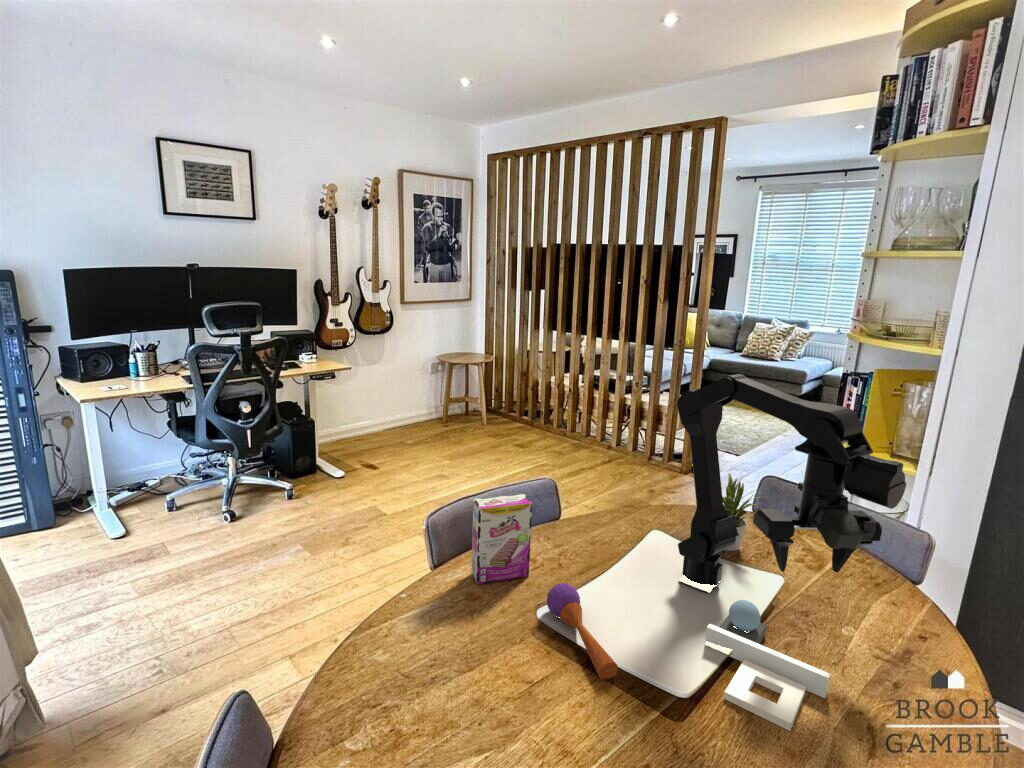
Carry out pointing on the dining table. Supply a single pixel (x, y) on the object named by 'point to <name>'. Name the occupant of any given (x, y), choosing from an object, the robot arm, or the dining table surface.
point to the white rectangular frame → (760, 706)
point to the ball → (744, 615)
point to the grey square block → (754, 635)
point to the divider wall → (771, 660)
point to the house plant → (732, 506)
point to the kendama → (580, 626)
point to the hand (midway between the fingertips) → (808, 570)
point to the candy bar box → (501, 538)
